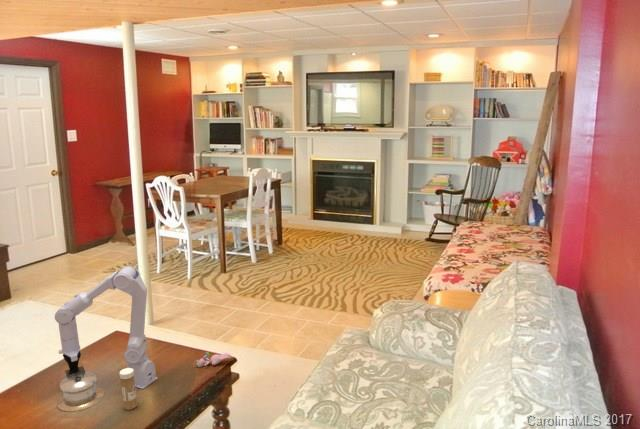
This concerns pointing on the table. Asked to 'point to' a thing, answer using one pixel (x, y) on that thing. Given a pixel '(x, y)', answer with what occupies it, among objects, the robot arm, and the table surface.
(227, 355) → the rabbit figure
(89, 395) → the cooker pot
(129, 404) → the sprinkles bottle
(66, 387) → the cooker lid
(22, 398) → the table surface
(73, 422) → the table surface
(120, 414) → the table surface
